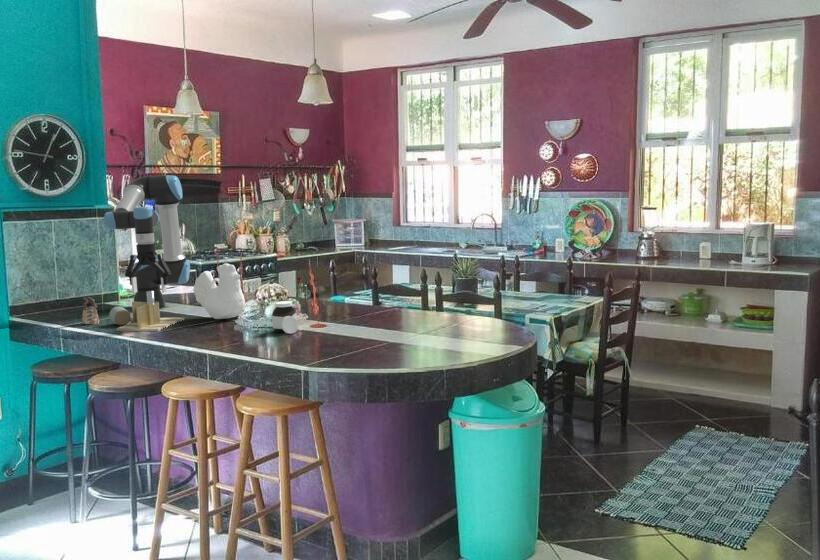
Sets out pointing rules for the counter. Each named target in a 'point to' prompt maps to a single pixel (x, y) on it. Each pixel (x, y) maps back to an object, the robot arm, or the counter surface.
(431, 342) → the counter surface
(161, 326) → the birch board
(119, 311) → the ceramic mug
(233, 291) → the decorative rooster
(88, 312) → the figurine
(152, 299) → the hinge pin
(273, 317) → the spread jar
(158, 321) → the brass hinge
